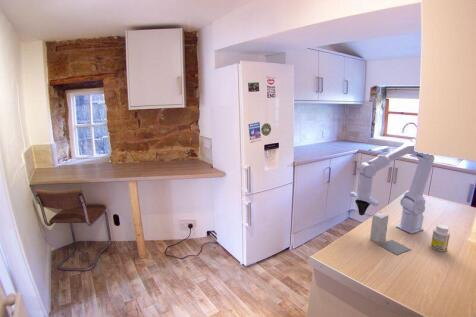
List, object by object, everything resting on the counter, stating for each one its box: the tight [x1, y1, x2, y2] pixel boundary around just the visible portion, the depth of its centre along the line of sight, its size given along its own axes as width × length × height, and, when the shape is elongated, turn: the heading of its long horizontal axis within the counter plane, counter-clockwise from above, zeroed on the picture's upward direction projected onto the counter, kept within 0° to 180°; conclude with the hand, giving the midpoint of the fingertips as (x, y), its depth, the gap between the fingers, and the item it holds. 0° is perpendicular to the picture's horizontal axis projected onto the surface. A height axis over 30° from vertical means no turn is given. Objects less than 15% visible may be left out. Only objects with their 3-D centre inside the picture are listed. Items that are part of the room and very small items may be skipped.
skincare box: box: [369, 211, 389, 244], centre depth 120 cm, size 6×4×12 cm
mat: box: [377, 239, 412, 256], centre depth 115 cm, size 9×8×1 cm
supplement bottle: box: [430, 224, 451, 252], centre depth 113 cm, size 6×6×10 cm
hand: (361, 214), depth 128 cm, fingers closed
